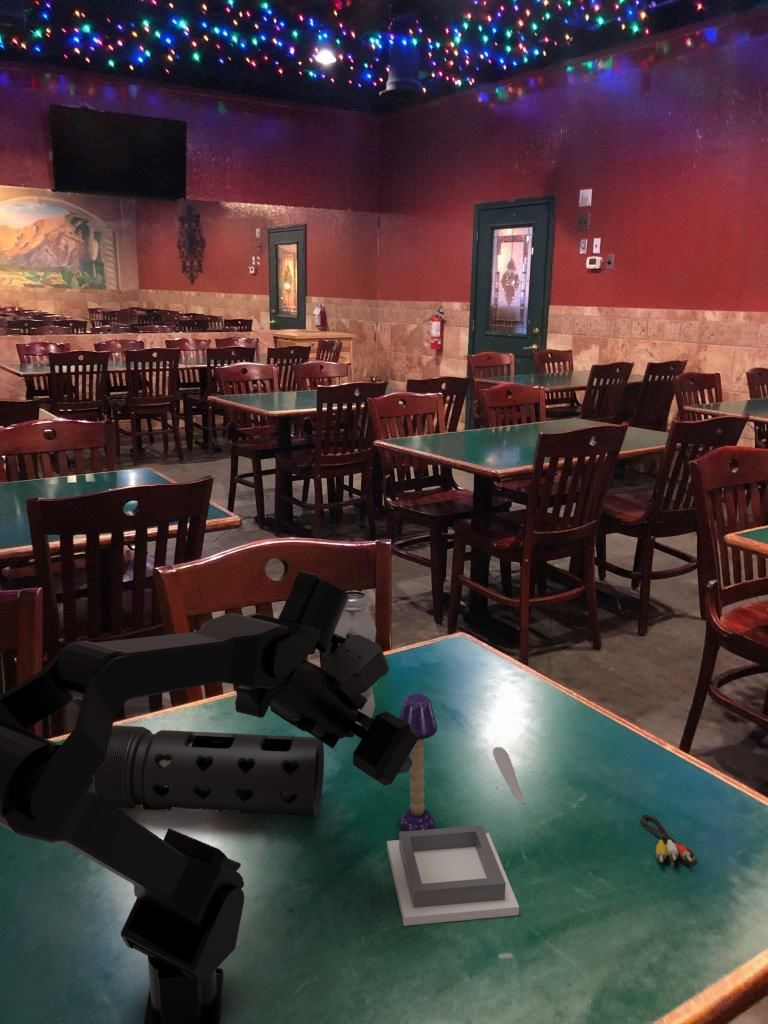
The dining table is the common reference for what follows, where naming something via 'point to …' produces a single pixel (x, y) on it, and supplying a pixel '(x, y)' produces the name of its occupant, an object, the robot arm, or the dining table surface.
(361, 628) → the plastic bottle
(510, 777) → the butter knife
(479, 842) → the socket plate
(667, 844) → the composite cable
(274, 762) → the muzzle brake
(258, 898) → the dining table surface
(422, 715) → the toy lamp
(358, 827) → the dining table surface
